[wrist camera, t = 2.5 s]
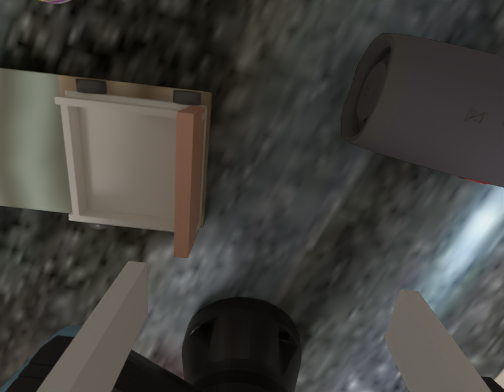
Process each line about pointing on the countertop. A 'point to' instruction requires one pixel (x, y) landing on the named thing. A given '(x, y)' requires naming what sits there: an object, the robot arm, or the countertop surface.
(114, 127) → the cart
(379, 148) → the bluetooth speaker
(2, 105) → the cutting board
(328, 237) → the countertop surface
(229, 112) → the countertop surface
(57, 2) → the supplement bottle
